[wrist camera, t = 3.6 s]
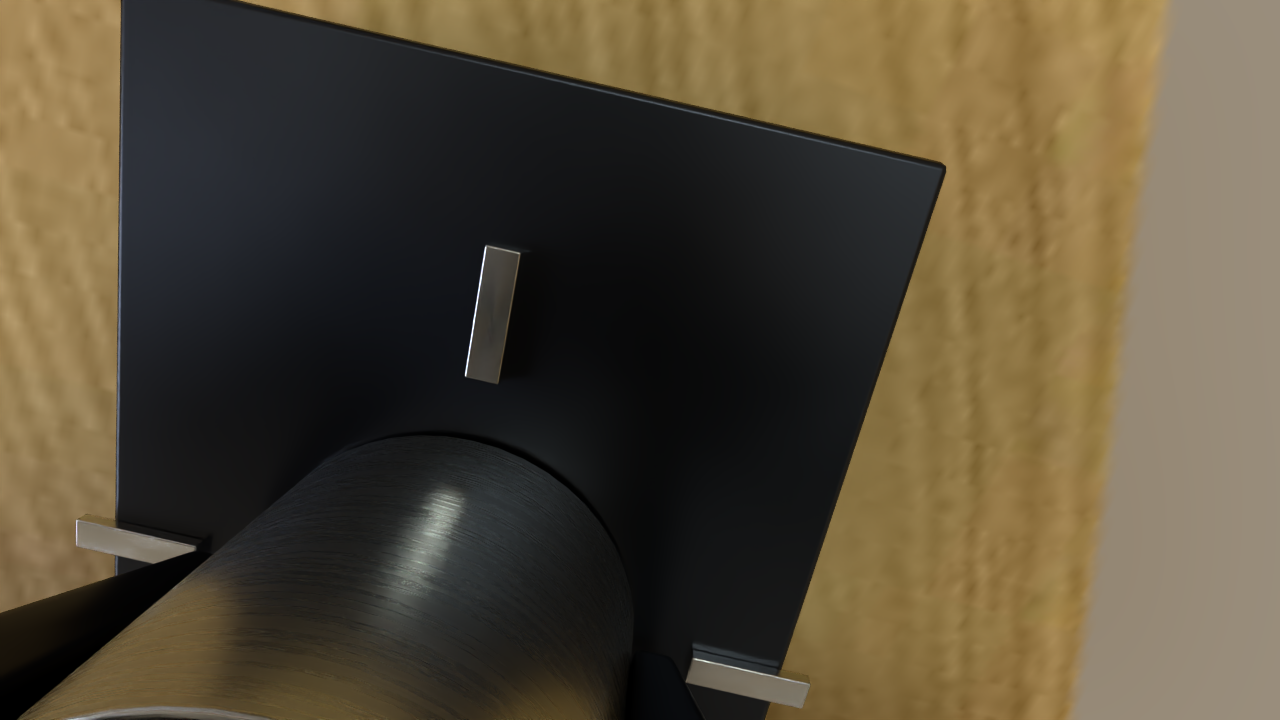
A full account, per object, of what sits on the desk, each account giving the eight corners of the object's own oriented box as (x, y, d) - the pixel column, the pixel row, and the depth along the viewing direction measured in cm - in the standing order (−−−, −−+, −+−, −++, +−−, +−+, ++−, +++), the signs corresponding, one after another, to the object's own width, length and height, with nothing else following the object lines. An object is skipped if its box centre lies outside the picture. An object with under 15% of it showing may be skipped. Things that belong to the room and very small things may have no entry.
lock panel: (683, 835, 13) (686, 1044, 10) (221, 732, 13) (77, 911, 10) (891, 168, 9) (989, 171, 6) (266, 25, 9) (71, -41, 6)
